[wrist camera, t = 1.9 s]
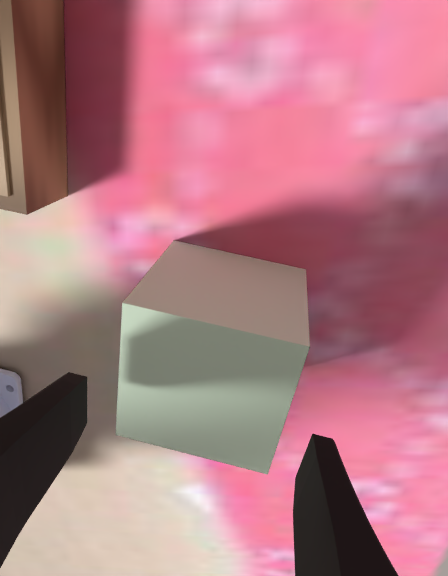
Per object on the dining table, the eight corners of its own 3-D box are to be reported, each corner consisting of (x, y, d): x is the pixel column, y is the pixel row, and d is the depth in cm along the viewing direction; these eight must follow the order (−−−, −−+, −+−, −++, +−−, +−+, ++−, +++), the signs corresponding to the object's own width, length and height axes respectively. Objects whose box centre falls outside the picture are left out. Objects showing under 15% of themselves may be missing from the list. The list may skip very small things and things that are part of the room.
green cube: (275, 373, 20) (267, 474, 15) (162, 346, 20) (115, 435, 15) (306, 268, 17) (309, 346, 12) (174, 239, 18) (122, 302, 12)
